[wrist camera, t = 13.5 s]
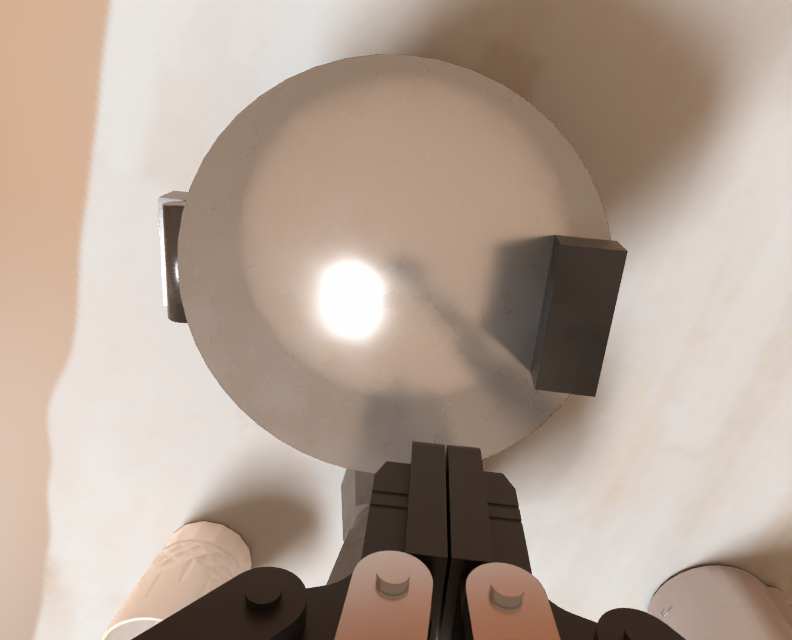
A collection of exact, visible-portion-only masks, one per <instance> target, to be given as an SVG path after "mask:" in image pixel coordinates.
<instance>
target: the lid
mask: <svg viewBox="0 0 792 640" xmlns="http://www.w3.org/2000/svg"><path fill="white" fill-rule="evenodd" d="M162 206H163V226H164V247H165V267H166V287H167V307H168V318H169V319H170V320H171V321H174V322H179V323H188V325H189V328H190V331H191V333H192V336H193V338H194V341H195V344H196V346H197V348H198V350H199V351H200V353H201V355H202V357H203V359H204V361H205V363H206V365H207V367H208V368H209V370H210V371H211V373H212V374H213V375H214V377H215V378H216V380H217V381H218V383H219V384H220V386H221V387H222V388H223V390H224V391H225V392H226V393H227V394H228V395H229V396H230V398H231V399H232V400H233V401H234V402H235V403H236V404H237V406H238V407H239V408H240V409H241V410H243V411H244V412H245V413H246V414H247V415H248V416H249V417H250V418H251V419H253V420H254V421H255V422H256V423H257V424H258V425H259V426H261V427H262V428H264V429H265V430H266V431H268V432H269V433H271V434H272V435H273V436H275V437H276V438H278V439H279V440H281V441H282V442H284V443H286V444H288V445H290V446H291V447H293V448H295V449H297V450H299V451H300V452H302V453H305V454H307V455H310V456H312V457H314V458H317V459H319V460H321V461H324V462H327V463H330V464H334V465H337V466H340V467H344V468H347V469H352V470H357V471H363V472H368V473H374V474H375V473H376V472H377V471H378V470H379V469H380V468H381V467H382V466H383V464H384V463H385V462H386V461H389V462H399V463H408V464H410V457H411V448H412V441H417V442H427V443H436V444H445V453H446V447H447V445H456V446H466V447H475V448H480V449H481V456H482V460H483V459H485V458H487V457H490V456H492V455H495V454H497V453H499V452H501V451H503V450H504V449H506V448H508V447H510V446H511V445H513V444H515V443H517V442H519V441H520V440H522V439H523V438H524V437H526V436H527V435H528V434H530V433H531V432H533V431H534V430H535V429H537V428H538V427H539V426H541V425H542V424H543V423H544V422H545V421H546V420H547V419H548V418H549V417H550V416H551V415H552V414H553V413H554V412H555V411H557V410H558V409H559V408H560V406H561V405H562V404H563V403H564V402H565V400H566V399H567V398H568V397H569V395H570V394H576V395H585V396H593V397H595V395H596V390H597V386H598V382H599V377H600V373H601V368H602V364H603V359H604V355H605V350H606V346H607V341H608V337H609V332H610V328H611V323H612V319H613V314H614V310H615V305H616V301H617V296H618V292H619V287H620V283H621V278H622V274H623V269H624V265H625V261H626V256H627V252H628V251H627V250H626V249H625V248H624V247H623V246H621V245H620V244H619V243H618V242H617V241H611V238H610V231H609V226H608V223H607V219H606V216H605V212H604V209H603V205H602V202H601V199H600V197H599V194H598V192H597V190H596V188H595V185H594V183H593V181H592V179H591V176H590V174H589V172H588V170H587V169H586V167H585V166H584V164H583V163H582V161H581V159H580V158H579V156H578V155H577V153H576V151H575V150H574V148H573V147H572V145H571V144H570V143H569V142H568V141H567V139H566V138H565V137H564V136H563V135H562V134H561V132H560V131H559V130H558V129H557V128H556V126H555V125H554V124H553V123H552V122H551V121H550V120H549V119H548V118H546V117H545V116H544V115H543V114H542V113H541V112H540V111H539V110H537V109H536V108H535V107H534V106H533V105H532V104H531V103H530V102H528V101H527V100H525V99H524V98H522V97H521V96H519V95H518V94H516V93H515V92H513V91H512V90H510V89H509V88H507V87H506V86H504V85H503V84H501V83H499V82H497V81H495V80H493V79H491V78H488V77H486V76H484V75H482V74H480V73H478V72H476V71H474V70H471V69H468V68H465V67H462V66H458V65H455V64H452V63H449V62H446V61H442V60H437V59H431V58H425V57H418V56H412V55H378V54H377V55H369V56H361V57H353V58H345V59H342V60H338V61H334V62H331V63H327V64H324V65H320V66H316V67H313V68H311V69H309V70H307V71H304V72H302V73H300V74H298V75H295V76H293V77H291V78H288V79H286V80H285V81H283V82H281V83H280V84H278V85H277V86H275V87H273V88H272V89H270V90H269V91H267V92H265V93H264V94H262V95H261V96H259V97H258V98H257V99H256V100H255V101H254V102H252V103H251V104H250V105H249V106H248V107H246V108H245V109H244V110H243V111H242V112H241V113H239V114H238V115H237V116H236V117H235V119H234V120H233V121H232V122H231V123H230V124H229V125H228V126H227V128H226V129H225V130H224V131H223V132H222V133H221V134H220V136H219V137H218V138H217V140H216V141H215V143H214V144H213V146H212V147H211V149H210V150H209V152H208V153H207V155H206V156H205V158H204V159H203V161H202V163H201V165H200V167H199V170H198V172H197V174H196V176H195V178H194V180H193V182H192V184H191V187H190V190H189V193H188V196H187V200H186V201H172V202H166V203H163V204H162Z"/></svg>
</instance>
